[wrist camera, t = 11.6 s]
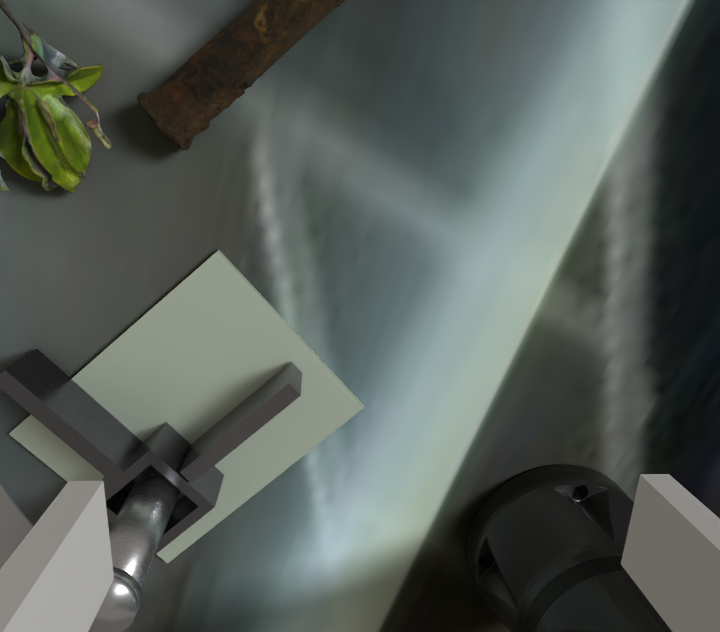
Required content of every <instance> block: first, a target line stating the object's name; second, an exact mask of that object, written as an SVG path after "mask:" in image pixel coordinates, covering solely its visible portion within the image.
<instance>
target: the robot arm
mask: <svg viewBox="0 0 720 632" xmlns="http://www.w3.org/2000/svg"><path fill="white" fill-rule="evenodd" d="M466 558H467V563H468V567H469V570H470V572H471V575H472V577H473V580H474V583H475V585H476V588H477V590H478V592H479V594H480V596H481V597H482V599H483V600H484V602H485V603H486V605H487V606H488V607H489V608H490V609H491V610H492V611H493V612H494V614H495V615H496V616H497V617H498V618H499V619H500V620H501V621H502V622H503V624H504V625H505V626H506V627H507V628H508V629H509V630H510V631H511V632H720V519H719V518H718V517H717V516H716V515H715V514H713V513H712V512H711V511H710V510H709V509H708V508H707V507H706V506H704V505H703V504H702V503H701V502H700V501H699V500H698V499H696V498H695V497H694V496H693V495H692V494H691V493H690V492H688V491H687V490H686V489H685V488H684V487H683V486H682V485H680V484H679V483H678V482H677V481H676V480H675V479H674V478H672V477H671V476H670V475H669V474H640V478H639V483H638V487H637V492H636V496H635V501H634V503H633V501H632V500H631V499H630V498H629V497H628V496H627V495H626V494H625V493H624V492H623V490H622V489H621V488H620V487H619V486H618V485H617V484H616V483H615V482H614V481H612V480H611V479H610V478H608V477H607V476H605V475H603V474H602V473H600V472H597V471H595V470H592V469H590V468H586V467H581V466H575V465H553V466H546V467H542V468H538V469H534V470H531V471H528V472H526V473H523V474H521V475H519V476H517V477H515V478H513V479H512V480H510V481H508V482H507V483H505V484H504V485H502V486H501V487H500V488H499V489H497V490H496V491H495V492H494V493H493V494H492V495H491V496H490V497H489V498H488V499H487V500H486V501H485V502H484V504H483V505H482V506H481V508H480V509H479V510H478V512H477V514H476V515H475V517H474V519H473V521H472V524H471V526H470V529H469V532H468V536H467V542H466ZM113 580H114V573H113V564H112V555H111V546H110V537H109V527H108V518H107V509H106V500H105V491H104V482H103V481H68V483H67V484H66V485H65V487H64V488H63V489H62V490H61V492H60V493H59V494H58V496H57V497H56V498H55V499H54V501H53V502H52V503H51V505H50V506H49V507H48V508H47V510H46V511H45V512H44V514H43V515H42V516H41V518H40V519H39V520H38V521H37V523H36V524H35V525H34V527H33V528H32V529H31V531H30V532H29V533H28V534H27V536H26V537H25V538H24V540H23V541H22V542H21V543H20V545H19V546H18V547H17V549H16V550H15V551H14V552H13V554H12V555H11V556H10V558H9V559H8V560H7V561H6V563H5V564H4V565H3V567H2V568H1V569H0V632H88V631H89V629H90V627H91V625H92V623H93V621H94V619H95V617H96V615H97V613H98V611H99V608H100V606H101V604H102V602H103V600H104V598H105V596H106V594H107V592H108V590H109V588H110V586H111V584H112V582H113Z"/></svg>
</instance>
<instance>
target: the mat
mask: <svg viewBox="0 0 720 632" xmlns="http://www.w3.org/2000/svg"><path fill="white" fill-rule="evenodd" d="M290 362H292V363H293V364H294V365H295V366H296V367H297V368H298V369H299V370H300V371H301V372H302V383H301V396H300V397H298V398H297V399H296V400H295V401H294V402H292V403H291V404H290V405H289V406H287V407H286V408H285V409H284V410H282V411H281V412H280V413H279V414H277V415H276V416H275V417H274V418H273V419H271V420H270V421H269V422H268V423H266V424H265V425H264V426H263V427H261V428H260V429H259V430H258V431H257V432H255V433H254V434H253V435H252V436H250V437H249V438H248V439H247V440H245V441H244V442H243V443H242V444H240V445H239V446H238V447H237V448H236V449H234V450H233V451H232V452H231V453H229V454H228V455H227V456H226V457H224V458H223V459H222V460H221V461H220V462H218V463H217V464H216V465H215V467H216V468H217V469H218V470H220V471H221V472H222V473H223V474H224V478H223V481H222V485H221V488H220V492H219V495H218V498H217V502H216V505H215V507H214V508H213V509H212V510H211V511H209V512H208V513H207V514H206V515H204V516H203V517H202V518H201V519H199V520H198V521H197V522H196V523H194V524H193V525H192V526H191V527H189V528H188V529H187V530H186V531H184V532H183V533H182V534H181V535H179V536H178V537H177V538H176V539H174V540H173V541H172V542H171V543H169V544H168V545H167V546H166V547H164V548H163V549H162V550H161V551H159V552H158V553H157V554H156V555H158V556H159V557H160V558H161V559H163V560H164V561H165V562H166V563H169V562H170V561H171V560H173V559H174V558H175V557H176V556H178V555H179V554H180V553H181V552H183V551H184V550H185V549H186V548H188V547H189V546H190V545H192V544H193V543H194V542H195V541H197V540H198V539H199V538H200V537H202V536H203V535H204V534H205V533H207V532H208V531H209V530H210V529H212V528H213V527H214V526H215V525H217V524H218V523H219V522H221V521H222V520H223V519H224V518H226V517H227V516H228V515H229V514H231V513H232V512H233V511H234V510H236V509H237V508H238V507H239V506H241V505H242V504H243V503H245V502H246V501H247V500H248V499H250V498H251V497H252V496H253V495H255V494H256V493H257V492H258V491H260V490H261V489H262V488H263V487H265V486H266V485H267V484H268V483H270V482H271V481H272V480H274V479H275V478H276V477H277V476H279V475H280V474H281V473H282V472H284V471H285V470H286V469H287V468H289V467H290V466H291V465H292V464H294V463H295V462H296V461H298V460H299V459H300V458H301V457H303V456H304V455H305V454H306V453H308V452H309V451H310V450H311V449H313V448H314V447H315V446H316V445H318V444H319V443H320V442H322V441H323V440H324V439H325V438H327V437H328V436H329V435H330V434H332V433H333V432H334V431H335V430H337V429H338V428H339V427H340V426H342V425H343V424H344V423H345V422H347V421H348V420H349V419H351V418H352V417H353V416H354V415H356V414H357V413H358V412H359V411H361V410H362V409H363V408H364V405H363V404H362V402H361V401H360V400H359V399H358V398H357V397H356V396H355V395H354V394H353V393H352V392H351V391H350V390H349V389H348V387H347V386H346V385H345V384H344V383H343V382H342V381H341V380H340V379H339V378H338V377H337V376H336V375H335V373H334V372H333V371H332V370H331V369H330V368H329V367H328V366H327V365H326V364H325V363H324V362H323V361H322V360H321V358H320V357H319V356H318V355H317V354H316V353H315V352H314V351H313V350H312V349H311V348H310V347H309V346H308V345H307V343H306V342H305V341H304V340H303V339H302V338H301V337H300V336H299V335H298V334H297V333H296V332H295V331H294V330H293V328H292V327H291V326H290V325H289V324H288V323H287V322H286V321H285V320H284V319H283V318H282V317H281V316H280V314H279V313H278V312H277V311H276V310H275V309H274V308H273V307H272V306H271V305H270V304H269V303H268V302H267V301H266V299H265V298H264V297H263V296H262V295H261V294H260V293H259V292H258V291H257V290H256V289H255V288H254V287H253V286H252V284H251V283H250V282H249V281H248V280H247V279H246V278H245V277H244V276H243V275H242V274H241V273H240V272H239V271H238V269H237V268H236V267H235V266H234V265H233V264H232V263H231V262H230V261H229V260H228V259H227V258H226V257H225V255H224V254H223V253H222V252H221V251H220V250H218V251H217V252H216V253H215V254H213V255H212V256H211V257H210V258H209V259H208V260H207V261H205V262H204V263H203V264H202V265H201V266H200V267H199V268H197V269H196V270H195V271H194V272H193V273H192V274H191V275H190V276H188V277H187V278H186V279H185V280H184V281H183V282H182V283H180V284H179V285H178V286H177V287H176V288H175V289H174V290H172V291H171V292H170V293H169V294H168V295H167V296H166V297H164V298H163V299H162V300H161V301H160V302H159V303H158V304H156V305H155V306H154V307H153V308H152V309H151V310H150V311H148V312H147V313H146V314H145V315H144V316H143V317H142V318H140V319H139V320H138V321H137V322H136V323H135V324H134V325H132V326H131V327H130V328H129V329H128V330H127V331H126V332H124V333H123V334H122V335H121V336H120V337H119V338H118V339H116V340H115V341H114V342H113V343H112V344H111V345H110V346H108V347H107V348H106V349H105V350H104V351H103V352H102V353H100V354H99V355H98V356H97V357H96V358H95V359H94V360H92V361H91V362H90V363H89V364H88V365H87V366H86V367H84V368H83V369H82V370H81V371H80V372H79V373H78V374H76V375H75V376H74V377H73V378H72V380H73V381H74V382H75V383H77V384H78V385H79V386H80V387H81V388H82V389H83V390H84V391H86V392H87V393H88V394H89V395H90V396H91V397H92V398H93V399H95V400H96V401H97V402H98V403H99V404H100V405H101V406H103V407H104V408H105V409H106V410H107V411H108V412H109V413H110V414H112V415H113V416H114V417H115V418H116V419H117V420H118V421H119V422H121V423H122V424H123V425H124V426H125V427H126V428H127V429H129V430H130V431H131V432H132V433H133V434H134V435H135V436H136V437H138V438H139V439H140V440H141V441H142V442H143V441H144V440H145V439H147V438H148V437H149V436H150V435H151V434H153V433H154V432H155V431H156V430H157V429H159V428H160V427H161V426H162V425H163V424H165V423H166V422H167V423H168V424H169V425H170V426H171V427H172V428H174V429H175V430H176V431H177V432H178V433H179V434H180V435H181V436H182V437H183V438H185V439H186V440H187V441H188V442H189V443H190V444H191V445H192V443H193V442H194V441H195V440H197V439H198V438H199V437H200V436H202V435H203V434H204V433H205V432H206V431H208V430H209V429H210V428H211V427H212V426H214V425H215V424H216V423H217V422H219V421H220V420H221V419H222V418H223V417H225V416H226V415H227V414H228V413H229V412H231V411H232V410H233V409H234V408H236V407H237V406H238V405H239V404H240V403H242V402H243V401H244V400H245V399H246V398H248V397H249V396H250V395H251V394H253V393H254V392H255V391H256V390H257V389H259V388H260V387H261V386H262V385H263V384H265V383H266V382H267V381H268V380H270V379H271V378H272V377H273V376H274V375H276V374H277V373H278V372H279V371H280V370H282V369H283V368H284V367H285V366H287V365H288V364H289V363H290ZM9 435H10V436H12V437H13V438H14V439H15V440H17V441H18V442H19V443H20V444H22V445H23V446H24V447H25V448H26V449H28V450H29V451H30V452H31V453H33V454H34V455H35V456H36V457H37V458H39V459H40V460H41V461H42V462H44V463H45V464H46V465H47V466H49V467H50V468H51V469H52V470H53V471H55V472H56V473H57V474H58V475H60V476H61V477H62V478H63V479H64V480H66V481H67V482H68V481H101V480H102V479H103V477H104V475H103V474H101V473H100V472H99V471H98V470H97V469H95V468H94V467H93V466H92V465H91V464H89V463H88V462H87V461H86V460H85V459H84V458H82V457H81V456H80V455H79V454H78V453H76V452H75V451H74V450H73V449H72V448H70V447H69V446H68V445H67V444H66V443H64V442H63V441H62V440H61V439H60V438H58V437H57V436H56V435H55V434H54V433H53V432H51V431H50V430H49V429H48V428H47V427H45V426H44V425H43V424H42V423H41V422H39V421H38V420H37V419H36V418H35V417H33V416H32V415H30V416H29V417H27V418H26V419H25V420H24V421H23V422H22V423H21V424H19V425H18V426H17V427H16V428H15V429H14V430H13V431H11V432H10V433H9ZM140 474H141V473H140ZM140 474H138V475H137V476H136V477H135V478H134V479H133V480H134V481H135V482H136V481H137V479H138V477H139V476H140ZM184 495H185V494H184V493H183V492H181V491H180V494H179V496H178V498H177V500H179V499H180V498H181V497H182V496H184Z"/></svg>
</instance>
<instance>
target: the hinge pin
mask: <svg viewBox="0 0 720 632" xmlns="http://www.w3.org/2000/svg"><path fill="white" fill-rule="evenodd" d="M179 494H180V490H179V489H178V488H177V487H176V486H175V485H173V484H172V483H171V482H170V481H169V480H168V479H167V478H165V477H164V476H163V475H162V474H161V473H160V472H159V471H157V470H156V469H155V468H154V467H153V466H152V465H149V466H148V467H147V468H146V469H145V470H143V471H142V472H141V474H140V476H139V477H138V479H137V481H136V483H135V484H134V486H133V488H132V490H131V492H130V493H129V495H128V497H127V499H126V500H125V502H124V504H123V506H122V508H121V509H120V511H119V513H118V515H117V516H116V518H115V520H114V522H113V524H112V525H111V527H110V529H109V537H110V546H111V555H112V564H113V573H114V580H113V582H112V584H111V586H110V588H109V590H108V592H107V594H106V596H105V598H104V600H103V602H102V604H101V606H100V608H99V611H98V613H97V615H96V617H95V619H94V621H93V623H92V625H91V627H90V629H89V631H88V632H123V631H124V630H126V629H127V628H128V627H129V626H130V625H131V624H132V622H133V620H134V618H135V615H136V613H137V610H138V608H139V605H140V603H141V599H142V591H141V586H142V584H143V581H144V579H145V576H146V574H147V572H148V569H149V567H150V564H151V562H152V559H153V557H154V554H155V552H156V550H157V547H158V545H159V542H160V540H161V537H162V535H163V533H164V530H165V528H166V525H167V523H168V520H169V518H170V516H171V513H172V511H173V508H174V506H175V503H176V501H177V498H178V496H179Z"/></svg>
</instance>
